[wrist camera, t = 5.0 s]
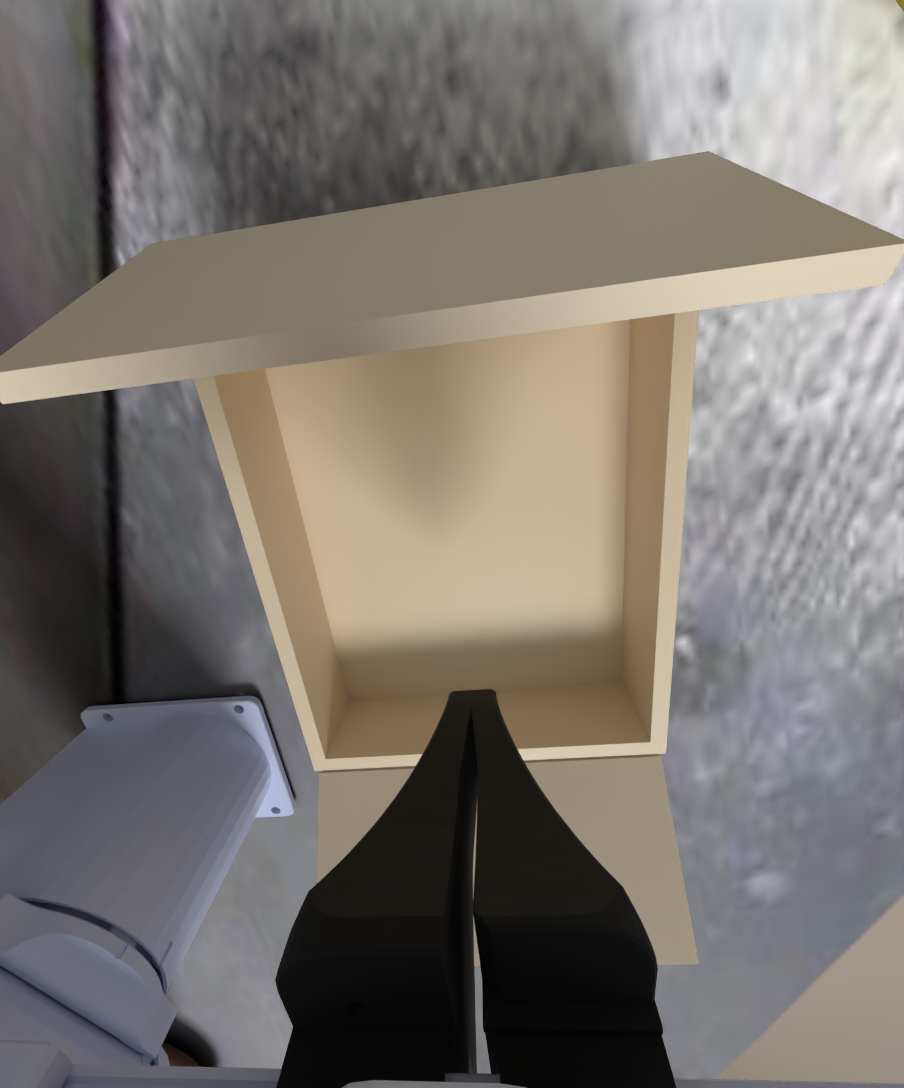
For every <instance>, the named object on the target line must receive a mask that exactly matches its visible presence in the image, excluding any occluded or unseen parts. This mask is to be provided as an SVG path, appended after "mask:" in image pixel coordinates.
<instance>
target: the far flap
mask: <svg viewBox="0 0 904 1088" xmlns="http://www.w3.org/2000/svg"><path fill="white" fill-rule="evenodd" d="M524 762H525V764H526V766H527V768H528V769H529V771H530V773H531V774H532V776H533V778H534V779H535V781H536V782H537V784H538V785H539V787H540V788H541V790H542V791H543V793H544V794H545V796H546V797H547V799H548V800H549V801H550V803H551V804H552V806H553V807H554V809H555V810H556V811H557V812H558V814H559V815H560V816H561V818H562V819H563V820H564V821H565V823H566V824H567V825H568V826H569V828H570V829H571V830H572V831H573V833H574V834H575V835H576V836H577V838H578V839H579V840H580V841H581V842H582V843H583V845H584V846H585V847H586V848H587V849H588V850H589V851H590V853H591V854H592V855H593V856H594V857H595V858H596V859H597V860H598V861H599V862H600V863H601V865H602V866H603V867H604V868H605V869H606V870H607V871H608V872H609V873H610V874H611V875H612V876H613V877H614V878H615V879H616V880H617V881H618V882H619V883H620V884H621V885H622V886H623V888H624V889H625V891H626V893H627V895H628V897H629V898H630V900H631V902H632V904H633V906H634V907H635V909H636V911H637V913H638V915H639V917H640V919H641V921H642V923H643V926H644V928H645V930H646V932H647V935H648V937H649V939H650V942H651V944H652V947H653V950H654V952H655V956H656V960H657V965H684V964H699V961H698V956H697V950H696V945H695V939H694V934H693V929H692V923H691V918H690V912H689V907H688V901H687V896H686V890H685V885H684V879H683V874H682V868H681V863H680V858H679V852H678V847H677V841H676V836H675V830H674V825H673V819H672V814H671V808H670V803H669V797H668V792H667V787H666V781H665V776H664V770H663V765H662V759H661V756H659V755H658V754H643V755H623V756H603V757H583V758H563V759H543V760H524ZM414 768H415V766H402V767H382V768H362V769H342V770H324V771H322V772H321V773H319V821H318V882H319V881H320V880H321V879H323V878H324V877H325V876H326V875H327V874H328V873H329V872H330V871H331V870H332V869H333V868H334V867H335V866H336V865H337V864H338V863H339V862H340V861H341V860H342V859H343V858H344V857H345V856H346V855H347V854H348V853H349V852H350V851H351V850H352V849H353V848H354V846H355V845H356V844H357V843H358V842H359V841H360V840H361V839H362V838H363V836H364V835H365V834H366V833H367V832H368V831H369V830H370V829H371V828H372V826H373V825H374V824H375V823H376V822H377V820H378V819H379V818H380V817H381V815H382V814H383V813H384V811H385V810H386V809H387V807H388V806H389V805H390V803H391V802H392V801H393V800H394V798H395V797H396V795H397V794H398V793H399V791H400V790H401V788H402V787H403V785H404V784H405V782H406V781H407V779H408V778H409V776H410V775H411V773H412V771H413V770H414ZM476 831H477V811H476V825H475V839H474V854H473V896H474V878H475V858H476ZM473 923H474V916H473ZM474 966H480V959H479V952H478V945H477V937H476V930H475V923H474Z"/></svg>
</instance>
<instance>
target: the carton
mask: <svg viewBox="0 0 904 1088" xmlns="http://www.w3.org/2000/svg"><path fill="white" fill-rule="evenodd" d="M698 314H699V310H695V311H688V312H680V313H673V314H666V315H658V316H651V317H643V318H636V319H629V320H621V321H614V322H607V323H599V324H592V325H584V326H577V327H570V328H562V329H555V330H548V331H540V332H533V333H525V334H518V335H511V336H503V337H496V338H488V339H481V340H474V341H466V342H459V343H452V344H444V345H437V346H429V347H422V348H415V349H407V350H400V351H392V352H385V353H378V354H370V355H363V356H356V357H348V358H341V359H333V360H326V361H319V362H311V363H304V364H296V365H289V366H282V367H274V368H267V369H260V370H252V371H245V372H237V373H230V374H223V375H215V376H208V377H200V378H194V381H195V384H196V388H197V391H198V394H199V397H200V401H201V404H202V407H203V410H204V414H205V417H206V420H207V423H208V427H209V430H210V433H211V436H212V440H213V443H214V446H215V449H216V453H217V456H218V459H219V462H220V465H221V469H222V472H223V475H224V478H225V482H226V485H227V488H228V491H229V495H230V498H231V501H232V504H233V508H234V511H235V514H236V517H237V521H238V524H239V527H240V530H241V534H242V537H243V540H244V543H245V547H246V550H247V553H248V556H249V560H250V563H251V566H252V569H253V573H254V576H255V579H256V582H257V586H258V589H259V592H260V595H261V599H262V602H263V605H264V608H265V611H266V615H267V618H268V621H269V624H270V628H271V631H272V634H273V637H274V641H275V644H276V647H277V650H278V654H279V657H280V660H281V663H282V667H283V670H284V673H285V676H286V680H287V683H288V686H289V689H290V693H291V696H292V699H293V702H294V706H295V709H296V712H297V715H298V719H299V722H300V725H301V728H302V732H303V735H304V738H305V741H306V745H307V748H308V751H309V754H310V758H311V761H312V764H313V767H314V770H315V771H322V770H342V769H362V768H382V767H402V766H416V765H417V763H418V761H419V759H420V758H421V756H422V754H423V752H424V751H425V749H426V747H427V745H428V743H429V741H430V739H431V737H432V735H433V733H434V731H435V729H436V727H437V725H438V723H439V720H440V718H441V716H442V714H443V711H444V709H445V706H446V703H447V700H448V697H449V694H450V693H451V692H452V691H462V690H482V689H493V690H494V691H495V692H496V696H497V701H498V705H499V708H500V711H501V714H502V716H503V719H504V722H505V724H506V726H507V729H508V731H509V733H510V735H511V737H512V739H513V741H514V744H515V746H516V748H517V749H518V751H519V753H520V755H521V757H522V759H523V760H543V759H563V758H583V757H603V756H623V755H643V754H663V753H666V745H667V731H668V718H669V704H670V691H671V677H672V664H673V650H674V637H675V623H676V610H677V596H678V583H679V570H680V556H681V543H682V529H683V516H684V502H685V489H686V475H687V462H688V448H689V435H690V421H691V408H692V394H693V381H694V367H695V354H696V340H697V327H698Z"/></svg>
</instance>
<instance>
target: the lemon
mask: <svg viewBox="0 0 904 1088" xmlns="http://www.w3.org/2000/svg"><path fill="white" fill-rule="evenodd" d="M896 1H897V3H898V4H899V6H900V7H901V8H902V10H903V11H904V0H896Z"/></svg>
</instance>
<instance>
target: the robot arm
mask: <svg viewBox="0 0 904 1088" xmlns="http://www.w3.org/2000/svg"><path fill="white" fill-rule="evenodd" d="M239 705H240V706H242V707H243V708H242V707H240V706H239ZM81 719H82V721H83V723H84V725H85V727H86V729H85V730H84V731H83V732H82V733H81V734H79V735H78V736H77V737H76V738H75V739H74V740H73V741H72V742H70V743H69V744H68V745H67V746H66V747H65V748H64V749H63V750H61V751H60V752H59V753H58V754H57V755H56V756H55V757H54V758H52V759H51V760H50V761H49V762H48V763H47V764H46V765H45V766H43V767H42V768H41V769H40V770H39V771H38V772H37V773H36V774H34V775H33V776H32V777H31V778H30V779H29V780H28V781H27V782H25V783H24V784H23V785H22V786H21V787H20V788H19V789H18V790H16V791H15V792H14V793H13V794H12V795H11V796H10V797H9V798H7V799H6V800H5V801H4V802H3V803H2V804H1V805H0V1088H904V1084H894V1083H891V1084H890V1083H851V1082H849V1083H848V1082H810V1081H769V1080H726V1079H685V1078H674V1077H673V1074H672V1070H671V1067H670V1063H669V1060H668V1056H667V1053H666V1049H665V1046H664V1042H663V1039H662V1033H663V1029H662V1024H661V1020H660V1017H659V1013H658V1010H657V1006H656V1003H655V1000H654V997H655V988H656V979H657V970H658V968H657V960H656V956H655V952H654V950H653V947H652V944H651V942H650V939H649V937H648V935H647V932H646V930H645V928H644V926H643V923H642V921H641V919H640V917H639V915H638V913H637V911H636V909H635V907H634V906H633V904H632V902H631V900H630V898H629V897H628V895H627V893H626V891H625V889H624V888H623V886H622V885H621V884H620V883H619V882H618V881H617V880H616V879H615V878H614V877H613V876H612V875H611V874H610V873H609V872H608V871H607V870H606V869H605V868H604V867H603V866H602V865H601V863H600V862H599V861H598V860H597V859H596V858H595V857H594V856H593V855H592V854H591V853H590V851H589V850H588V849H587V848H586V847H585V846H584V845H583V843H582V842H581V841H580V840H579V839H578V838H577V836H576V835H575V834H574V833H573V831H572V830H571V829H570V828H569V826H568V825H567V824H566V823H565V821H564V820H563V819H562V818H561V816H560V815H559V814H558V812H557V811H556V810H555V809H554V807H553V806H552V804H551V803H550V801H549V800H548V799H547V797H546V796H545V794H544V793H543V791H542V790H541V788H540V787H539V785H538V784H537V782H536V781H535V779H534V778H533V776H532V774H531V773H530V771H529V769H528V768H527V766H526V764H525V762H524V760H523V759H522V757H521V755H520V753H519V751H518V749H517V748H516V746H515V744H514V741H513V739H512V737H511V735H510V733H509V731H508V729H507V726H506V724H505V722H504V719H503V716H502V714H501V711H500V708H499V705H498V701H497V696H496V692H495V691H494V690H493V689H482V690H462V691H452V692H451V693H450V694H449V697H448V700H447V703H446V706H445V709H444V711H443V714H442V716H441V718H440V720H439V723H438V725H437V727H436V729H435V731H434V733H433V735H432V737H431V739H430V741H429V743H428V745H427V747H426V749H425V751H424V752H423V754H422V756H421V758H420V759H419V761H418V763H417V765H416V766H415V768H414V770H413V771H412V773H411V775H410V776H409V778H408V779H407V781H406V782H405V784H404V785H403V787H402V788H401V790H400V791H399V793H398V794H397V795H396V797H395V798H394V800H393V801H392V802H391V803H390V805H389V806H388V807H387V809H386V810H385V811H384V813H383V814H382V815H381V817H380V818H379V819H378V820H377V822H376V823H375V824H374V825H373V826H372V828H371V829H370V830H369V831H368V832H367V833H366V834H365V835H364V836H363V838H362V839H361V840H360V841H359V842H358V843H357V844H356V845H355V846H354V848H353V849H352V850H351V851H350V852H349V853H348V854H347V855H346V856H345V857H344V858H343V859H342V860H341V861H340V862H339V863H338V864H337V865H336V866H335V867H334V868H333V869H332V870H331V871H330V872H329V873H328V874H327V875H326V876H325V877H324V878H323V879H321V880H320V881H319V882H318V883H317V884H316V885H315V886H314V887H313V888H312V889H311V890H310V891H309V892H308V894H307V896H306V898H305V900H304V902H303V905H302V907H301V909H300V911H299V913H298V916H297V918H296V920H295V922H294V925H293V927H292V930H291V932H290V935H289V938H288V941H287V944H286V947H285V950H284V953H283V956H282V959H281V962H280V965H279V968H278V972H277V976H276V980H275V981H276V985H277V990H278V993H279V995H280V998H281V1000H282V1002H283V1004H284V1007H285V1009H286V1011H287V1013H288V1016H289V1018H290V1020H291V1022H292V1025H293V1030H292V1034H291V1037H290V1041H289V1044H288V1048H287V1051H286V1055H285V1058H284V1062H283V1066H282V1069H267V1068H225V1067H183V1066H170V1064H169V1060H168V1056H167V1054H166V1052H165V1051H164V1049H163V1048H162V1047H161V1046H162V1044H163V1041H164V1039H165V1037H166V1035H167V1033H168V1031H169V1029H170V1027H171V1024H172V1022H173V1020H174V1018H175V1016H176V1014H177V1012H178V1007H177V1006H175V1005H174V1004H173V1003H172V1002H171V1001H170V1000H169V999H168V998H167V997H166V996H165V995H166V993H167V991H168V989H169V987H170V985H171V983H172V981H173V979H174V977H175V975H176V973H177V971H178V969H179V967H180V965H181V963H182V961H183V959H184V957H185V955H186V953H187V951H188V949H189V947H190V945H191V943H192V941H193V939H194V937H195V935H196V933H197V931H198V929H199V927H200V925H201V923H202V921H203V920H204V918H205V916H206V914H207V912H208V910H209V908H210V906H211V904H212V902H213V900H214V898H215V896H216V894H217V892H218V890H219V888H220V886H221V884H222V882H223V880H224V878H225V876H226V874H227V872H228V870H229V868H230V866H231V864H232V862H233V860H234V858H235V856H236V854H237V852H238V850H239V848H240V846H241V844H242V842H243V840H244V838H245V836H246V834H247V832H248V830H249V828H250V826H251V824H252V822H253V820H254V818H255V817H275V816H289V815H291V814H293V812H294V810H295V807H296V803H295V800H294V797H293V794H292V792H291V789H290V786H289V783H288V780H287V777H286V774H285V771H284V768H283V765H282V762H281V759H280V756H279V753H278V751H277V748H276V745H275V742H274V739H273V736H272V733H271V730H270V727H269V724H268V721H267V718H266V715H265V712H264V709H263V707H262V704H261V702H260V700H259V699H258V698H256V697H254V696H237V697H222V698H207V699H192V700H177V701H162V702H147V703H132V704H117V705H101V706H90V707H88V708H87V709H85V710H84V711H83V712H82V713H81ZM476 811H477V831H476V858H475V878H474V896H473V854H474V839H475V825H476ZM473 916H474V923H475V930H476V937H477V945H478V952H479V959H480V966H481V973H482V985H483V1029H484V1032H485V1034H486V1041H487V1047H488V1054H489V1061H490V1068H491V1074H477V1065H476V1025H475V979H474V923H473Z"/></svg>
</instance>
